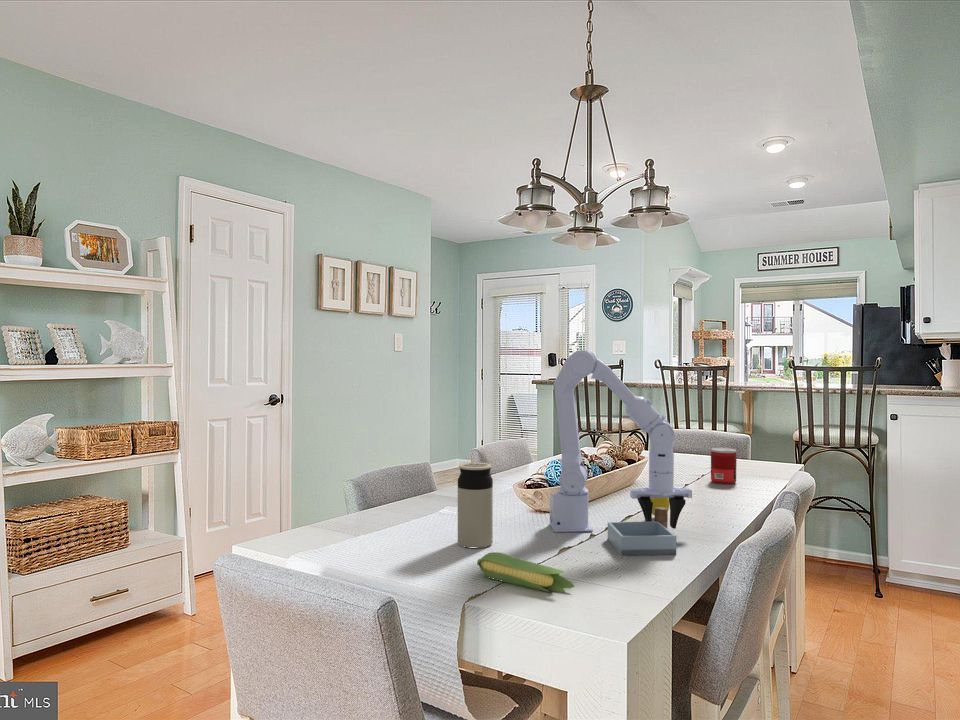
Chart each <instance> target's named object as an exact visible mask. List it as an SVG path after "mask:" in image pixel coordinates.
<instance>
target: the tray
mask: <svg viewBox="0 0 960 720" xmlns="http://www.w3.org/2000/svg"><path fill="white" fill-rule="evenodd" d="M607 540H608V542H609V543H610V544H611V545H612V546H613V548H614V549H615V550H616V551H617V552H618V554H619V555H620V556H654V555H655V556H658V555H660V556H662V555H663V556H664V555H665V556H667V555H668V556H669V555H677V535H676V534H674V533H673V532H672V531H671V530H669V528H668V527H667V528H666V527H665V526H663V525H662V524H661V523H660V522H658V521H655V520H654V521H652V522H645V521H608V522H607Z"/></svg>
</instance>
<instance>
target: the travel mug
mask: <svg viewBox="0 0 960 720" xmlns="http://www.w3.org/2000/svg"><path fill="white" fill-rule="evenodd" d="M492 467H493V466H492V464H491V463H487V462H475V461H474V462H464V463H460V464H459V465H458V468H459V472H460V474H459V476H458V478H457V544H458V545H459V546H461V547H463V546H465V547H464V548H466V547H484V548H487V547H486V546H488V547H489V546H491V545H492V544H493V542H494V541H493V537H494V536H493V534H494V533H493V531H494V530H493V528H494V527H493V526H494V524H493V523H494V522H493V521H494V520H493V516H494V513H493V511H494V510H493V507H494V506H493V504H494V502H493V501H494V500H493V499H494V497H493V496H494V495H493V493H494V491H493V490H494V489H493V487H494V485H493V484H494V483H493V481H494V479H493V477H492V475H491V468H492Z"/></svg>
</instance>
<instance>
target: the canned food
mask: <svg viewBox="0 0 960 720" xmlns="http://www.w3.org/2000/svg"><path fill="white" fill-rule="evenodd" d="M710 480H711V482H712V483H713V484H718V485H735V484H736V482H737V449H735V448H730V447H729V448H728V447H713V448H711V450H710Z"/></svg>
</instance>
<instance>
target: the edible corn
mask: <svg viewBox="0 0 960 720" xmlns="http://www.w3.org/2000/svg"><path fill="white" fill-rule="evenodd" d="M476 564H477V566H478V567H479V570H480V572H482V574H483V576H485V577H486V576H487V577H486V578H488V577H490V578H494V579H498V580H502V581H504V582H503V583H508V584H512V585H516V586H519V587H520V586H521V587H525V588H529V589H533V590H537V591H541V592H544V593H545V592H546V593H549V594H552V593H553V592H555V591H556V592H557V591H558V592H561V593H566V591H565V589H572V588H574V587H575V584H574V583H573V582H572V581H571V580H569V579H567V578H565V577H563V576H561V575H562V574H566V571H564V570H562V569H559V568H555V567H550V566H547V565H542V564H539V563H536V562H531V561H528V560H525V559H522V558H518V557H516V556H512V555H509V554H506V553H503V552H494V551H492V552H488V553H486V554H484V555H483V556H482V557H481V558H479V559H477V562H476ZM490 578H489V579H490ZM494 579H493V580H494ZM498 580H497V581H498ZM502 581H501V582H502ZM551 590H552V591H551ZM553 590H554V591H553Z"/></svg>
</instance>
